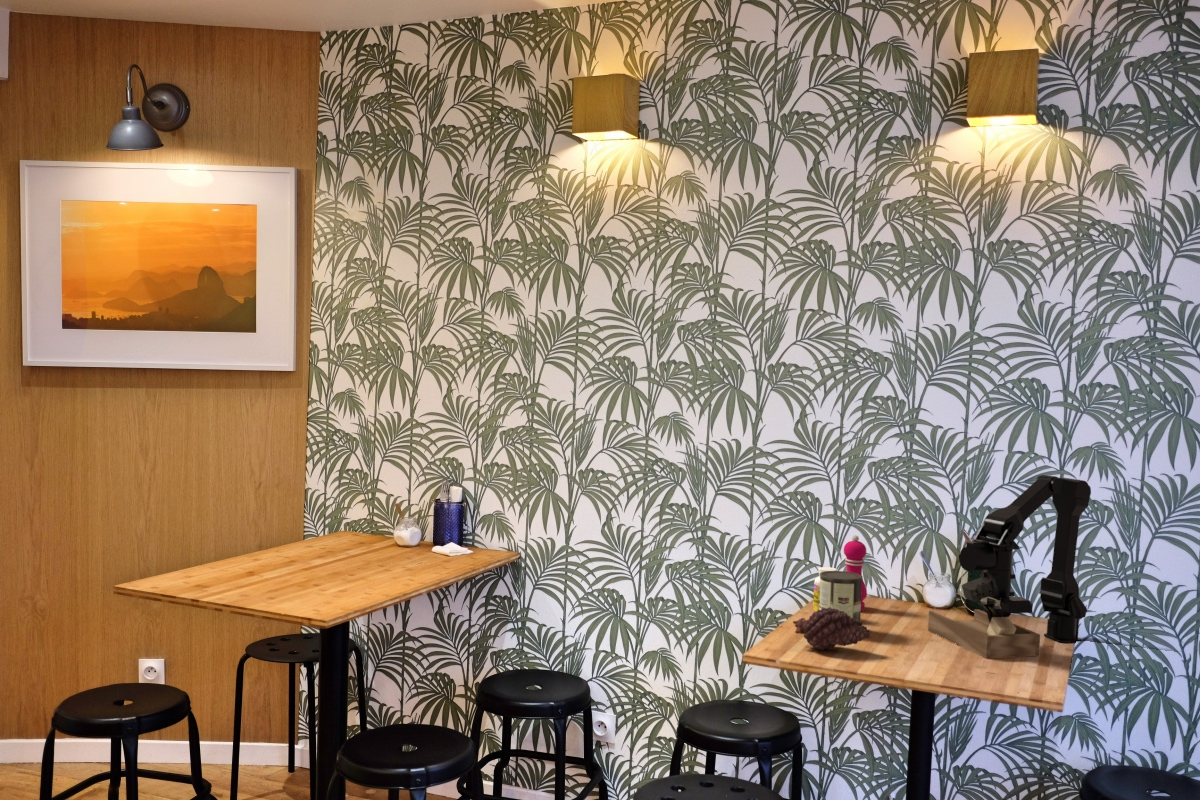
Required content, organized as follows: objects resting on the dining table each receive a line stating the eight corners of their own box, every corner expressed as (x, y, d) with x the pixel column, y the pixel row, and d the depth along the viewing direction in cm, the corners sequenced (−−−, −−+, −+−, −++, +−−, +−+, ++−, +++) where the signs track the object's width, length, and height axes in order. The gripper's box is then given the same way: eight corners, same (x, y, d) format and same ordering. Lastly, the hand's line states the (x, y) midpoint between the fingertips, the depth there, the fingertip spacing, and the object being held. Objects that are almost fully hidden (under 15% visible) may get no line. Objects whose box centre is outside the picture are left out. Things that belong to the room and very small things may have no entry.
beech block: (1001, 631, 248) (1007, 616, 246) (1010, 643, 245) (1016, 628, 242) (986, 631, 247) (992, 617, 245) (994, 643, 244) (1000, 629, 242)
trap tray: (976, 628, 267) (977, 609, 267) (1039, 655, 244) (1040, 634, 244) (927, 630, 264) (928, 611, 263) (986, 658, 240) (987, 636, 240)
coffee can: (844, 624, 267) (846, 569, 267) (868, 635, 258) (871, 578, 257) (809, 627, 264) (811, 571, 263) (833, 638, 254) (835, 580, 253)
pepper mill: (866, 612, 280) (870, 538, 280) (839, 610, 282) (842, 536, 281) (865, 606, 288) (868, 533, 287) (838, 604, 289) (841, 532, 288)
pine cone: (870, 649, 245) (872, 607, 245) (867, 661, 236) (869, 616, 235) (793, 640, 251) (795, 599, 250) (787, 651, 241) (789, 608, 241)
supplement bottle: (807, 615, 276) (809, 566, 275) (829, 613, 278) (831, 565, 278) (821, 621, 270) (823, 571, 269) (843, 620, 272) (845, 570, 271)
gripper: (945, 561, 255) (942, 624, 256) (992, 577, 237) (989, 646, 237) (986, 560, 258) (983, 623, 258) (1035, 576, 240) (1032, 644, 240)
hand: (995, 633), depth 249 cm, fingers closed
